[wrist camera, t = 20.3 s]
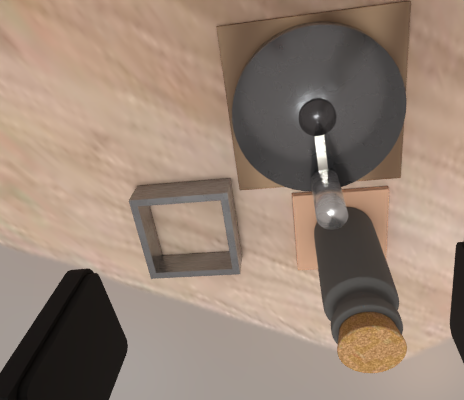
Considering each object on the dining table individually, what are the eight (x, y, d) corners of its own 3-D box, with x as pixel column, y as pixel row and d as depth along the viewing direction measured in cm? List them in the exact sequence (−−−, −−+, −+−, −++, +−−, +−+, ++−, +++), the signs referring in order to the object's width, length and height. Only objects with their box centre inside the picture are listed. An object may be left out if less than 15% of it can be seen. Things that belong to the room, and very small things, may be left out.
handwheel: (218, 40, 35) (204, 62, 28) (398, 3, 33) (431, 17, 26) (250, 192, 42) (245, 240, 35) (401, 171, 39) (428, 217, 33)
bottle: (382, 241, 43) (427, 365, 30) (328, 262, 45) (349, 387, 32) (359, 196, 41) (397, 309, 28) (303, 220, 43) (315, 337, 30)
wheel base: (409, 0, 33) (411, 1, 33) (399, 175, 40) (400, 177, 40) (217, 26, 35) (216, 26, 35) (240, 188, 43) (239, 190, 42)
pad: (387, 186, 41) (389, 189, 41) (384, 262, 45) (385, 265, 45) (292, 193, 42) (292, 196, 42) (297, 266, 47) (297, 270, 46)
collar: (230, 178, 42) (227, 192, 39) (242, 256, 47) (240, 274, 44) (137, 185, 43) (128, 200, 41) (157, 260, 48) (151, 278, 45)
